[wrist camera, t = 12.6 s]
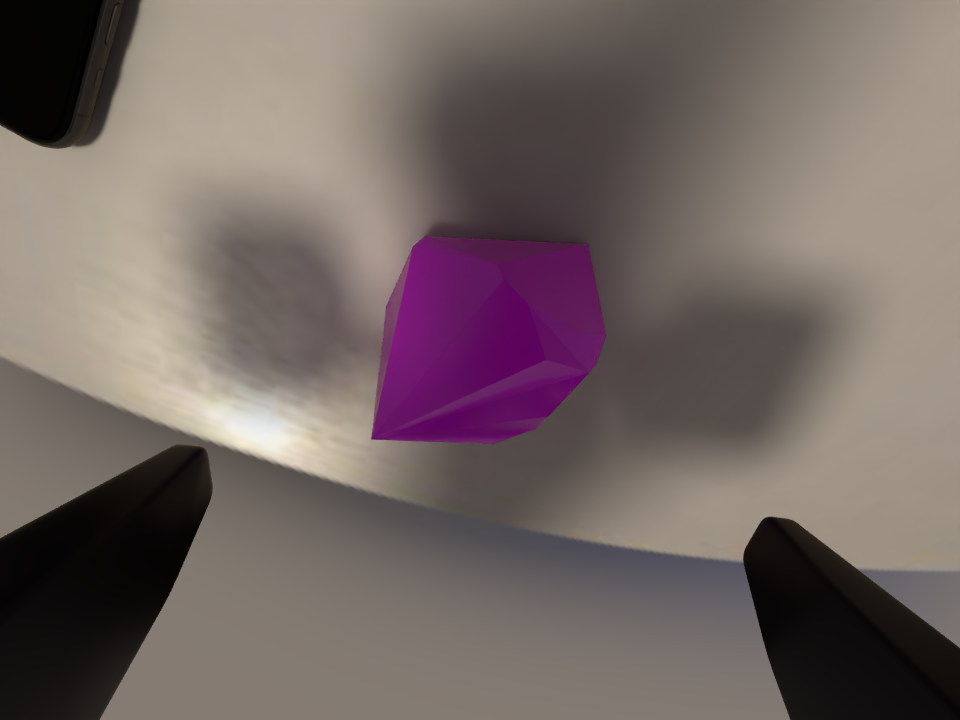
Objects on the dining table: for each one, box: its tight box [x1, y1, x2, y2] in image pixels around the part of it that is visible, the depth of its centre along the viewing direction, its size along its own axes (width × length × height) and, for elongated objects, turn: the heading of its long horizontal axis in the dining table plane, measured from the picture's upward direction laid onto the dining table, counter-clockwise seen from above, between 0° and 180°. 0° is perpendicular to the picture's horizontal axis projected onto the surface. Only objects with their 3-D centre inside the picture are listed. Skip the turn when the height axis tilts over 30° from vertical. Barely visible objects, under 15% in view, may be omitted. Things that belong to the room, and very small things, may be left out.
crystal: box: [371, 236, 606, 444], centre depth 14 cm, size 5×5×5 cm
